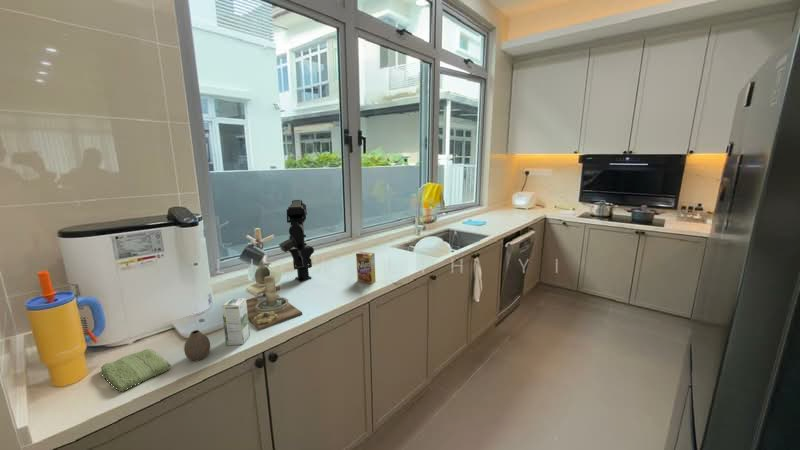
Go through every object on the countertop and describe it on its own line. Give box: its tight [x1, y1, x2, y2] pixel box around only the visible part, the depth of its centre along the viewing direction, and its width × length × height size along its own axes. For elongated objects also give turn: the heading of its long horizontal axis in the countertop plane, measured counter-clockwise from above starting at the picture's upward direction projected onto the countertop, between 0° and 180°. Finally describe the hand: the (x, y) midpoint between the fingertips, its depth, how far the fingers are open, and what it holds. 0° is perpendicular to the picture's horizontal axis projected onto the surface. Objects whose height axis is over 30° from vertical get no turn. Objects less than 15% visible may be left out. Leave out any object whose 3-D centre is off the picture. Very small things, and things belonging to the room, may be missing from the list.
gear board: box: [246, 292, 303, 331], centre depth 129 cm, size 30×17×3 cm, turn 44°
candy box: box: [355, 250, 376, 284], centre depth 157 cm, size 9×4×15 cm, turn 64°
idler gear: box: [262, 275, 283, 309], centre depth 128 cm, size 8×8×13 cm
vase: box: [183, 329, 211, 362], centre depth 97 cm, size 7×7×9 cm
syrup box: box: [221, 297, 250, 346], centre depth 105 cm, size 6×6×14 cm
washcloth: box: [99, 348, 171, 392], centre depth 91 cm, size 13×18×3 cm
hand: (300, 265), depth 146 cm, fingers open, 9 cm apart
